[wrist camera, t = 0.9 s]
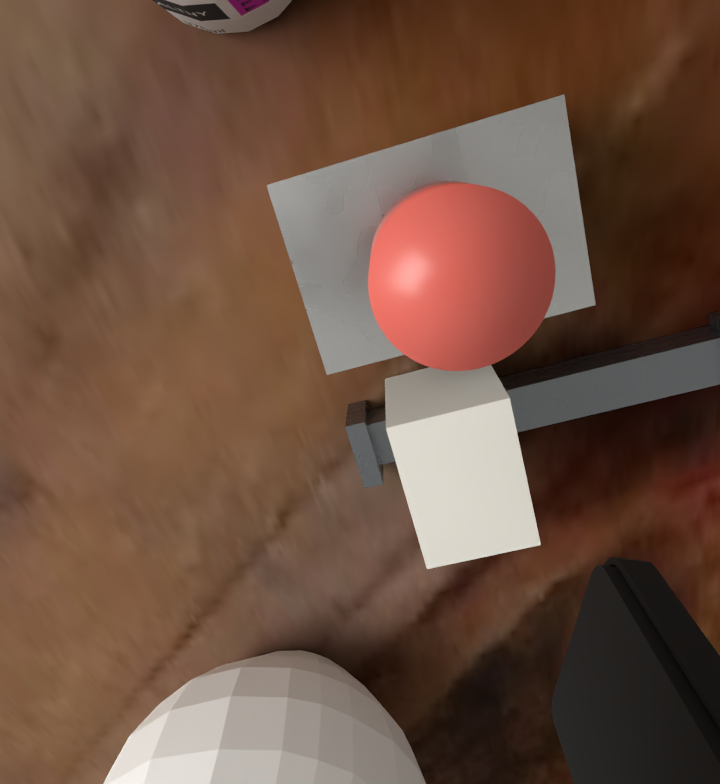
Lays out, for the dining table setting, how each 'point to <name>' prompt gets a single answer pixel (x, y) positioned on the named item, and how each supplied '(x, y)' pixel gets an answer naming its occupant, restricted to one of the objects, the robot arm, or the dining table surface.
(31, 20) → the dining table surface
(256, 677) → the pitcher
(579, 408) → the rail
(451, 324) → the button
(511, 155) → the grey box
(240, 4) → the supplement can
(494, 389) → the carriage
